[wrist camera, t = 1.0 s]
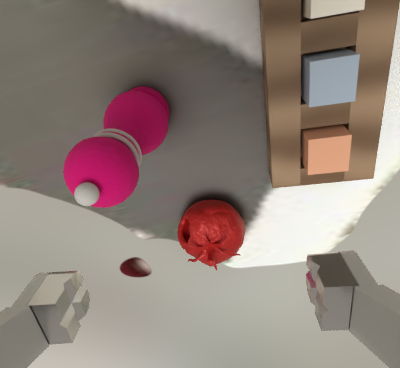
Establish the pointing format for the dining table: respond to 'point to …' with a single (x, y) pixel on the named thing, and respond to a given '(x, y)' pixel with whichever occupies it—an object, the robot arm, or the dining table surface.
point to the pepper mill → (117, 148)
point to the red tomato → (211, 231)
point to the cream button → (330, 7)
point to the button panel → (327, 114)
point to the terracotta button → (326, 149)
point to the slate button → (329, 77)
